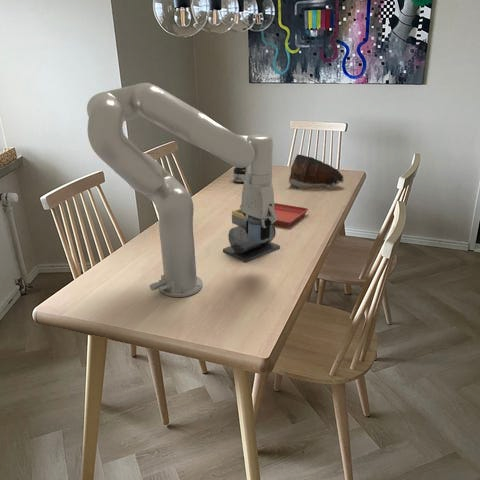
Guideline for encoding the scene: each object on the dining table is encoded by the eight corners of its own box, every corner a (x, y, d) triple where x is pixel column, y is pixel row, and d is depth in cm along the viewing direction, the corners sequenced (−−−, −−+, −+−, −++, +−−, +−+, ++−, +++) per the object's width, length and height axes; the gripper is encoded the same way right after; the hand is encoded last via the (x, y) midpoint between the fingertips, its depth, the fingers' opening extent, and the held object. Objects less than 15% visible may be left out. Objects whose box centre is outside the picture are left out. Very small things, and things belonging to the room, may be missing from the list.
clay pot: (346, 168, 215) (293, 155, 221) (337, 200, 220) (286, 186, 226) (349, 164, 228) (300, 152, 235) (341, 194, 234) (293, 181, 240)
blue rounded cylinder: (257, 245, 141) (257, 223, 138) (243, 239, 145) (243, 217, 142) (271, 239, 145) (272, 218, 142) (258, 234, 149) (258, 213, 146)
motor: (245, 262, 156) (244, 221, 150) (222, 251, 164) (221, 212, 158) (280, 248, 165) (280, 209, 160) (256, 238, 174) (256, 201, 168)
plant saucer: (270, 208, 204) (269, 201, 203) (308, 215, 195) (309, 207, 194) (249, 222, 190) (249, 214, 189) (290, 230, 181) (290, 222, 180)
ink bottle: (229, 182, 241) (228, 159, 236) (240, 178, 248) (239, 155, 243) (245, 185, 236) (244, 161, 231) (255, 181, 242) (255, 157, 237)
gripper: (229, 174, 141) (230, 230, 148) (270, 186, 129) (268, 247, 136) (248, 170, 146) (248, 225, 153) (289, 182, 134) (286, 240, 141)
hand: (257, 235), depth 144 cm, fingers closed on blue rounded cylinder, 5 cm apart
